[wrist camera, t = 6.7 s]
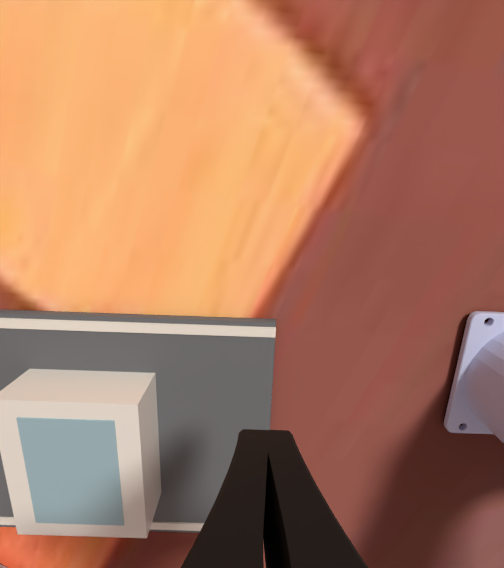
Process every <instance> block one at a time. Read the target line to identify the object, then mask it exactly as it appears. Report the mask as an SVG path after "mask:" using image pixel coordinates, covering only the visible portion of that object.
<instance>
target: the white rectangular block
mask: <svg viewBox="0 0 504 568" xmlns="http://www.w3.org/2000/svg"><path fill="white" fill-rule="evenodd" d="M0 453H1V458H2V462H3V467H4V472H5V477H6V481H7V486H8V491H9V496H10V500H11V505H12V510H13V515H14V520H15V524H16V529H17V534H25V535H57V536H89V537H121V538H147V537H148V533H149V530H150V527H151V524H152V521H153V517H154V514H155V511H156V508H157V505H158V501H159V498H160V495H161V474H160V454H159V434H158V414H157V394H156V375H155V373H144V372H114V371H84V370H55V369H29V370H27V371H26V372H25V373H23V374H22V375H21V376H19V377H18V378H17V379H15V380H14V381H13V382H12V383H10V384H9V385H8V386H6V387H5V388H4V389H2V390H1V391H0Z"/></svg>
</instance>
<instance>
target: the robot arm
mask: <svg viewBox="0 0 504 568" xmlns="http://www.w3.org/2000/svg"><path fill="white" fill-rule="evenodd" d="M487 318H489V320H488V322H487V323H485V324H484V321H485V320H486V319H487ZM460 424H462V425H461V426H459V425H460ZM444 427H445V428H446V429H447V430H448V431H449V432H451V433H471V434H494V435H495V436H496V437H497V438H499V439H500V440H501V441H502V442H503V443H504V312H483V311H477V312H473V313H471V314H470V315H469V316H468V319H467V323H466V327H465V331H464V336H463V340H462V345H461V349H460V353H459V358H458V362H457V367H456V371H455V375H454V380H453V384H452V389H451V393H450V397H449V402H448V406H447V411H446V415H445V419H444ZM263 540H264V551H265V561H266V568H368V567H367V565H366V564H365V562H364V561H363V559H362V558H361V556H360V555H359V553H358V552H357V551H356V549H355V547H354V546H353V544H352V543H351V541H350V540H349V538H348V537H347V535H346V534H345V532H344V530H343V529H342V527H341V526H340V524H339V522H338V521H337V519H336V518H335V516H334V514H333V513H332V511H331V509H330V508H329V506H328V504H327V502H326V501H325V499H324V497H323V495H322V494H321V492H320V490H319V488H318V487H317V485H316V483H315V481H314V479H313V478H312V476H311V474H310V472H309V470H308V468H307V466H306V464H305V462H304V460H303V458H302V456H301V454H300V452H299V449H298V447H297V445H296V443H295V440H294V438H293V435H292V434H291V433H290V432H289V431H284V430H253V429H243V430H242V431H240V432H239V435H238V441H237V445H236V448H235V452H234V455H233V458H232V461H231V463H230V466H229V469H228V472H227V474H226V477H225V479H224V481H223V484H222V486H221V488H220V491H219V493H218V496H217V498H216V500H215V502H214V504H213V507H212V509H211V511H210V513H209V515H208V517H207V519H206V521H205V523H204V525H203V527H202V529H201V531H200V533H199V535H198V537H197V539H196V541H195V543H194V545H193V546H192V548H191V550H190V552H189V554H188V556H187V557H186V559H185V561H184V563H183V565H182V566H181V568H264V567H263Z"/></svg>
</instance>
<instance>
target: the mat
mask: <svg viewBox="0 0 504 568" xmlns="http://www.w3.org/2000/svg"><path fill="white" fill-rule="evenodd" d="M275 335H276V319H257V318H228V317H199V316H170V315H142V314H113V313H84V312H55V311H26V310H0V391H1V390H2V389H4V388H5V387H6V386H8V385H9V384H10V383H12V382H13V381H14V380H15V379H17V378H18V377H19V376H21V375H22V374H23V373H25V372H26V371H27V370H29V369H55V370H84V371H114V372H144V373H155V375H156V394H157V414H158V434H159V454H160V474H161V495H160V498H159V501H158V505H157V508H156V511H155V514H154V517H153V521H152V524H151V527H150V530H149V531H158V532H190V533H200V531H201V529H202V527H203V525H204V523H205V521H206V519H207V517H208V515H209V513H210V511H211V509H212V507H213V504H214V502H215V500H216V498H217V496H218V493H219V491H220V488H221V486H222V484H223V481H224V479H225V477H226V474H227V472H228V469H229V466H230V463H231V461H232V458H233V455H234V452H235V448H236V445H237V441H238V435H239V432H240V431H242V430H243V429H253V430H270V417H271V400H272V383H273V366H274V349H275ZM0 527H16V524H15V520H14V515H13V510H12V505H11V500H10V496H9V491H8V486H7V481H6V477H5V472H4V467H3V462H2V458H1V453H0Z"/></svg>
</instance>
